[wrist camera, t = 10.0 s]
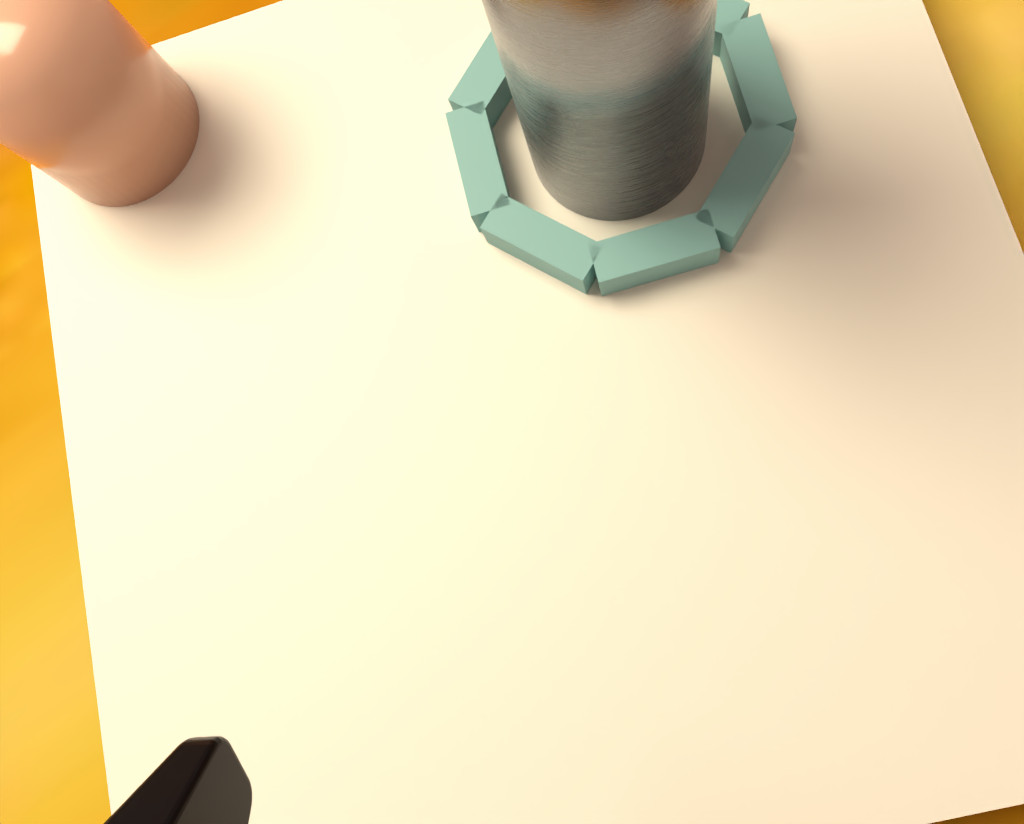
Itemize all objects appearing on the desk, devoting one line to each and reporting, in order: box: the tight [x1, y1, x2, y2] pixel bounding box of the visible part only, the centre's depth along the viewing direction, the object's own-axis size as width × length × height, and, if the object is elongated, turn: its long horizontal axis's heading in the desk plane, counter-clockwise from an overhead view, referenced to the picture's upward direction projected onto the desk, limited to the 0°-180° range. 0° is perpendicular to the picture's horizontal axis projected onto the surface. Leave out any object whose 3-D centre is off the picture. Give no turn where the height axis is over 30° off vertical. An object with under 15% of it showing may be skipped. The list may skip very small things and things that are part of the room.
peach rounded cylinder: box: [0, 0, 199, 207], centre depth 23 cm, size 4×4×5 cm
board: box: [31, 0, 1024, 824], centre depth 22 cm, size 24×24×3 cm
